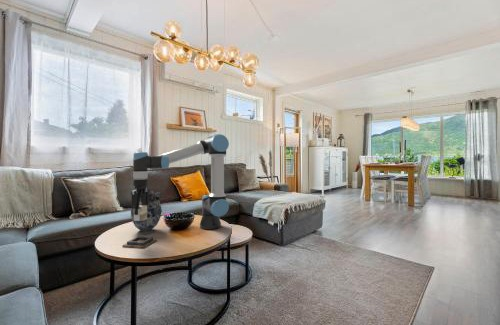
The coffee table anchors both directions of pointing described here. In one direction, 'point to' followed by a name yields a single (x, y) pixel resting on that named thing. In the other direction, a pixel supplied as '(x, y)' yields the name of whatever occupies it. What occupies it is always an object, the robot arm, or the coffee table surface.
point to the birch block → (142, 212)
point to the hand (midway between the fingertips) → (140, 219)
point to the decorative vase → (149, 214)
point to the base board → (140, 242)
